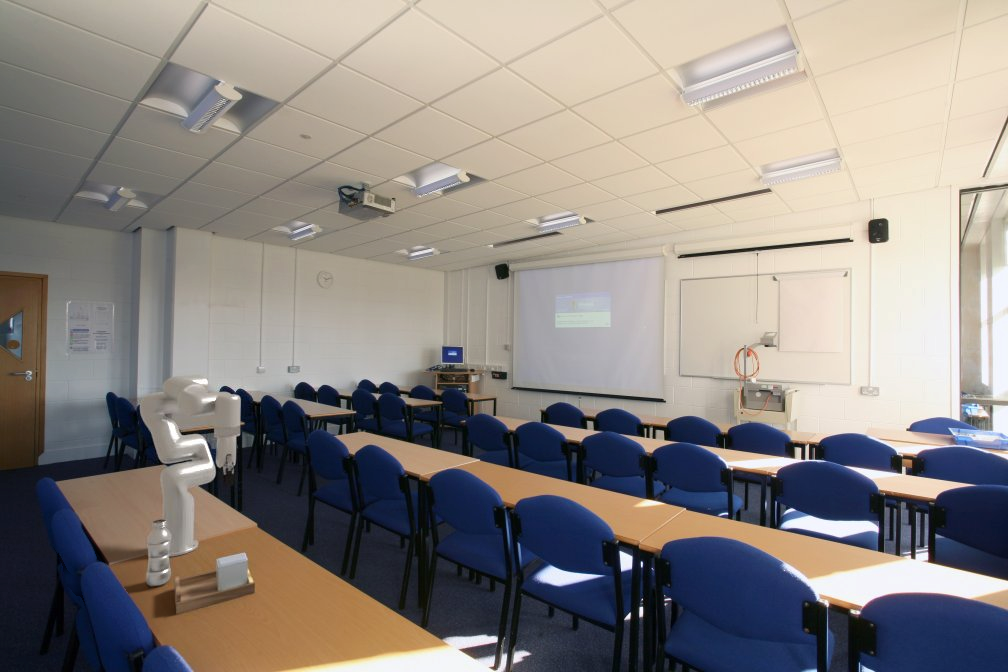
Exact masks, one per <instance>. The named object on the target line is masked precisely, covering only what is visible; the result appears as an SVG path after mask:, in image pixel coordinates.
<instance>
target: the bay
mask: <svg viewBox="0 0 1008 672" xmlns="http://www.w3.org/2000/svg"><path fill="white" fill-rule="evenodd" d="M173 587H174V588H173V589H174V590H173V591H174V600H175V603H174V604H175V611H176V612H175V614H176V616H177V615H180V614H184V613H187V612H188V613H189V612H192V611H194V610H198V609H202V608H205V607H209V606H212V605H217V604H219V603H223V602H227V601H230V600H234V599H237V598H241V597H244V596H249V595H252V594H255V593H256V592H255V588H256V583H255V582H254V580H253V577H252V574H251V572H250V570H249V568H248V578H247V584H243V585H239V586H235V587H232V588H228V589H224V590H220V591H218V588H217V584H216V569H215V570H211V571H206V572H202V573H198V574H194V575H190V576H187V577H186V576H185V577H182V578H180V574H179V573H178V574H175V575H174V586H173Z"/></svg>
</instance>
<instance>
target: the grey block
mask: <svg viewBox="0 0 1008 672" xmlns="http://www.w3.org/2000/svg"><path fill="white" fill-rule="evenodd" d="M248 564H249V559H248V557H247V554H246V552H239V553H236V554H235V553H234V554H232V555H226V556H222V557H219V558H216V564H215V565H216V569H215V570H216V584H217V588H218V591H220V590H224V589H228V588H232V587H235V586H239V585H243V584H247V578H248V569H249V565H248Z"/></svg>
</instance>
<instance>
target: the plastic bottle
mask: <svg viewBox="0 0 1008 672" xmlns="http://www.w3.org/2000/svg"><path fill="white" fill-rule="evenodd" d="M166 522H167V521H166V519H163V518H162V519H156V520H154V521H152V524H151V529H152V530H151V531H150V532H149V534H148V535H147V537H146V547H147V555H148V556H147V557H148V563H147V570H146V576H145V583H146V584H147V585H148V586H149V587H157V586H162V585H165V584H166V583H168V582H169V581H170V578H171V575H172V570H171V566H170V557H169V548H170V542H171V533H170V532H169V530H168V529H167V528H166V526H167V524H166Z"/></svg>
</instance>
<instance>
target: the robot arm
mask: <svg viewBox="0 0 1008 672" xmlns="http://www.w3.org/2000/svg"><path fill="white" fill-rule="evenodd" d="M209 391H210V382H209V380H208V379H207V378H206V377H205V376H204V375H202V374H192V375H191V374H190V375H176V376H172V377H169V378H168V379H166V380H165V381H164V383H163V384H162V391H159V392H153V393H152V392H151V393H149V394H145V395H144V396H143V397H142V398H141V400H140V403H139V412H140V416H141V419H142V421H143V423H144V425H145V426H146V427H147V429H148V431H149V432H150V433H151V438H152V441H153V444H154V447H155V450H156V455H157V457H158V459H159V460H160V462H161V463H163V464H172V465H168V466H167V467H165V468H164V469H163V470H162V471H161V473H160V476H159V477H160V478H159V481H160V486H161V492H162V493H161V494H162V519H166V521H167V522H166V524H167V526H166V528H167V529H168V530H169V532H170V533H171V542H170V548H169V558H170V557H176V556H182V555H185V554H188V553H191V552H192V551H194V550H196V549H197V548H198V546H199V541H198V540H196V539H194V534H195V533H194V531H195V529H194V527H195V525H194V524H195V522H194V521H195V499H194V496H193V495H192V494H191V493H190V492H189V491H188V490H189V489H190V488H193V487H197V486H201V485H205V484H208V483H211V482H212V481H213V480H214V479H215V477H216V474H217V473H216V472H217V471H216V466H217V467H218V468H219V469H218V471H219V472H218V478H219V480H222V487H224V488H225V487H226V488H227V487H231V486H232V487H233V486H234V485H235V473H234V471H235V469H234V466H235V465H236V461H237V437H239V436H240V435H241V406H242V405H241V402H242V401H241V400H242V399H241V396H240V395H238V394H235V393H233V394H231V393H230V392H227V391H216V392H209ZM173 413H183V414H185V415H187V416H189V417H204V416H212V415H213V416H214V425H213V426H214V429H213V431H214V432H213V433H214V435H213V437H214V438H216V440H217V441H216V454H215V455H216V456H215V462H214V460H213V457H212V454H211V451H210V450H211V449H210V448H209V445H208V442H207V439H206V438H205V437H204V436H203V435H201V434H198V433H193V434H191V433H190V434H186V435H184V434H183V435H182V433H181V432H180V428H179V426H178V424H177V423H176V422H175V421H174V420H173V418H172V419H171V418H170V417H168V416H166V414H167V415H169V414H173ZM190 460H191V461H190ZM184 461H185V462H184ZM180 462H181V463H180ZM173 463H175V464H173ZM215 464H216V466H215Z"/></svg>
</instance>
